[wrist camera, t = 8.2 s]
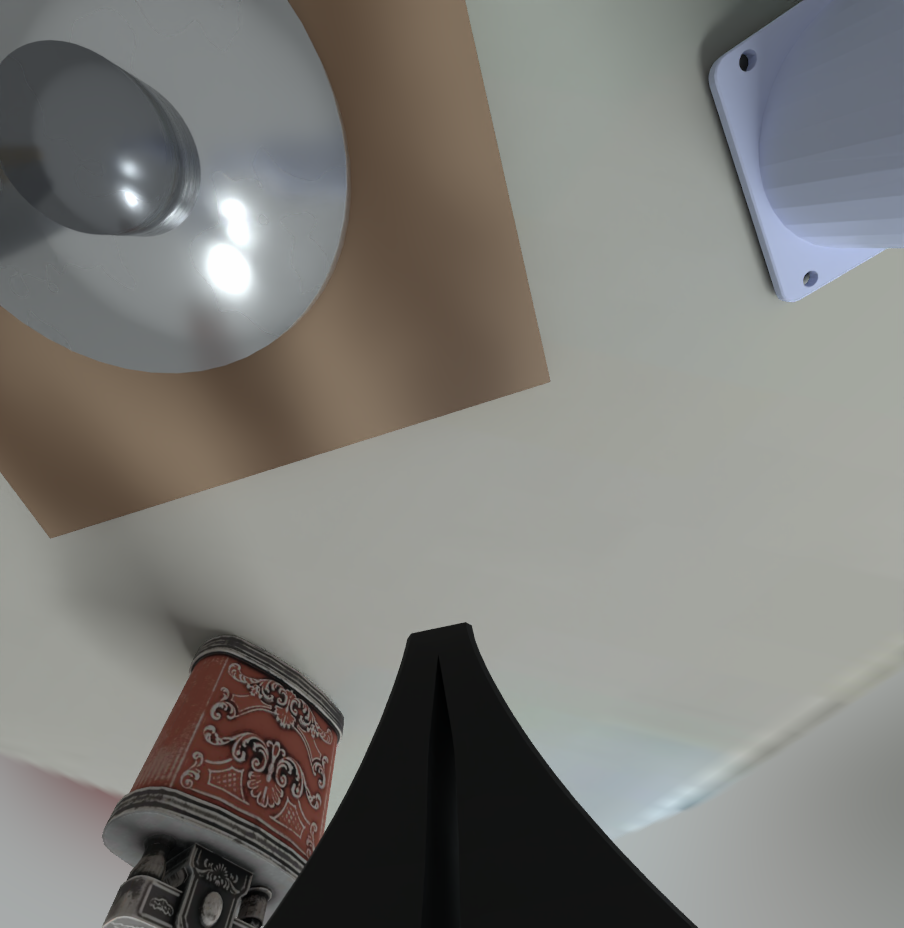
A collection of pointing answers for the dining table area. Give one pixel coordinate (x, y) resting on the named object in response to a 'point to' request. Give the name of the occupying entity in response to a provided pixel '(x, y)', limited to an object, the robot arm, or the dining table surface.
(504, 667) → the dining table surface
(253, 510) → the dining table surface
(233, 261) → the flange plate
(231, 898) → the lighter
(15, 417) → the walnut board
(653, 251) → the dining table surface
